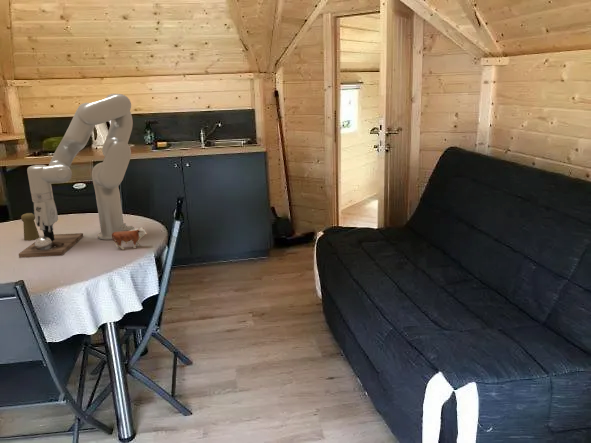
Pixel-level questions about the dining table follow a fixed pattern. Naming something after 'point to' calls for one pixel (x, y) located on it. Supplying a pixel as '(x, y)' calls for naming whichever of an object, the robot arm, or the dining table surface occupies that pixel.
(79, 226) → the dining table surface
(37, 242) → the ball
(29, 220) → the cork
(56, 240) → the board
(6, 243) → the dining table surface
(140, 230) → the bull figurine
